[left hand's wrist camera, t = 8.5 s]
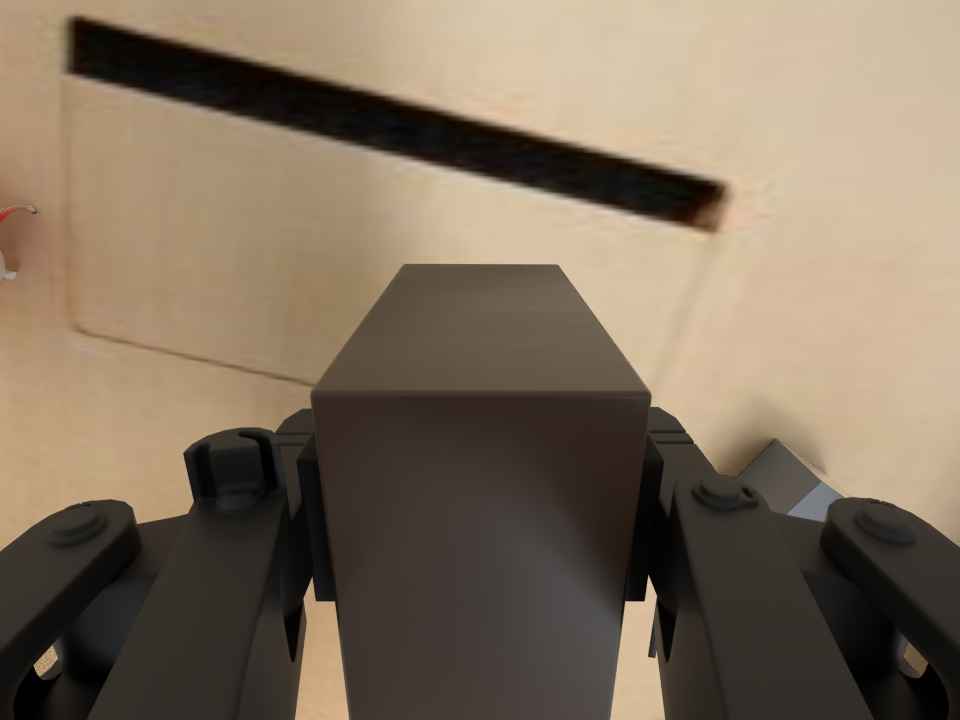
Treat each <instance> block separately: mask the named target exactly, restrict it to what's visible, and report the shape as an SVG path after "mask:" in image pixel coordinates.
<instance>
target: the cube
mask: <svg viewBox="0 0 960 720" xmlns="http://www.w3.org/2000/svg"><path fill="white" fill-rule="evenodd" d="M736 479H738V480H740V481H743V482H745V483H746V484H748V485H750V486H751V487H753V488H754V489H756V490H757V491H758V492H759V493H760V494H761V495H762V497H763V498H764V499H765V500H766V502H767V504H768V506H769V508H770V510H771V511H773V512H777V513H781V514H785V515H790V516H795V517H800V518H806V519H811V520H816V521H821V522H824V521H825V517H826V513H827V510H828V506H829V505H830V504H831V503H833V502H834V501H835V500H836V499H842V498H848V497H851V496H850V495H849V494H848V493H847V492H846V491H845V490H843V489H842V488H841V487H840V486H839V485H838V484H837V483H836V482H835V481H833V480H832V479H831V478H830V477H829V476H828V475H826V474H825V473H824V472H822V471H821V470H819V469H818V468H817V467H815V466H814V465H812V464H811V463H810V462H808V461H807V460H806V459H804V458H803V457H801V456H800V455H799V454H797V453H796V452H794V451H793V450H792V449H790V448H789V447H787V446H786V445H785V444H783V443H782V442H780V441H779V440H778V439H776V440H775V441H774V442H773V443H772V444H771V445H770V446H769V447H768V448H767V449H766V450H765V451H764V452H762V453H761V454H760V455H759V456H758V457H757V458H756V459H755V460H754V461H753V462H752V463H751V464H750V465H749V466H748V467H747V468H746V469H745V470H744V471H743V472H742V473H741V474H740V475H739V476H738V477H737V478H736Z"/></svg>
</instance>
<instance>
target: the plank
mask: <svg viewBox="0 0 960 720" xmlns="http://www.w3.org/2000/svg"><path fill="white" fill-rule="evenodd" d="M651 398H652V395H651V392H650V391H649V389H648V388H647V387H646V385H645V384H644V383H643V381H642V380H641V378H640V377H639V376H638V374H637V373H636V372H635V370H634V369H633V367H632V366H631V365H630V363H629V362H628V360H627V359H626V358H625V356H624V355H623V354H622V352H621V351H620V349H619V348H618V347H617V345H616V344H615V343H614V341H613V340H612V338H611V337H610V336H609V334H608V333H607V332H606V330H605V329H604V327H603V326H602V325H601V323H600V322H599V321H598V319H597V318H596V316H595V315H594V314H593V312H592V311H591V309H590V308H589V307H588V305H587V304H586V303H585V301H584V300H583V298H582V297H581V296H580V294H579V293H578V292H577V290H576V289H575V287H574V286H573V285H572V283H571V282H570V281H569V279H568V278H567V276H566V275H565V274H564V272H563V271H562V270H561V268H560V267H559V265H531V264H404V265H403V266H402V267H401V269H400V270H399V271H398V273H397V274H396V276H395V277H394V278H393V280H392V281H391V282H390V284H389V285H388V286H387V288H386V289H385V291H384V292H383V293H382V295H381V296H380V297H379V299H378V300H377V302H376V303H375V304H374V306H373V307H372V308H371V310H370V311H369V313H368V314H367V315H366V317H365V318H364V319H363V321H362V322H361V324H360V325H359V326H358V328H357V329H356V330H355V332H354V333H353V335H352V336H351V337H350V339H349V340H348V341H347V343H346V344H345V346H344V347H343V348H342V350H341V351H340V352H339V354H338V355H337V356H336V358H335V359H334V361H333V362H332V363H331V365H330V366H329V367H328V369H327V370H326V372H325V373H324V374H323V376H322V377H321V378H320V380H319V381H318V383H317V384H316V385H315V387H314V388H313V389H312V391H311V394H310V399H311V407H312V415H313V423H314V432H315V440H316V448H317V456H318V465H319V473H320V481H321V489H322V498H323V506H324V514H325V522H326V531H327V539H328V547H329V555H330V564H331V572H332V580H333V589H334V597H335V605H336V613H337V622H338V630H339V638H340V646H341V655H342V663H343V671H344V679H345V688H346V696H347V704H348V712H349V720H610V716H611V708H612V700H613V693H614V685H615V677H616V669H617V662H618V654H619V646H620V638H621V631H622V623H623V615H624V607H625V599H626V592H627V584H628V576H629V568H630V561H631V553H632V545H633V537H634V530H635V522H636V514H637V506H638V499H639V491H640V483H641V475H642V467H643V460H644V452H645V444H646V436H647V429H648V421H649V413H650V405H651Z"/></svg>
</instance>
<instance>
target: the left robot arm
mask: <svg viewBox="0 0 960 720" xmlns="http://www.w3.org/2000/svg"><path fill="white" fill-rule="evenodd" d="M183 455H184V459H185V464H186V468H187V472H188V477H189V481H190V486H191V490H192V495H193V499H194V503H193V505H192V507H191V509H190V511H189V513H188V514H185V515H181V516H177V517H173V518H167V519H162V520H157V521H152V522H147V523H141V524H137V522H136V519H135V515H134V511H133V508H132V507H131V506H129V505H128V504H127V503H126V502H123V501H117V500H111V499H110V500H98V501H88V502H82V504H80V503H78V504H75V505H72V506H69V507H67V508H65V509H64V510H61V511H59V512H57V513H54V514H52V515H50V516H48V517H47V518H45V519H43V520H42V521H40V522H39V523H37V524H35V525H34V526H32V527H31V528H30V529H28V530H27V531H26V532H25V533H23V534H22V535H21V536H19V537H18V538H17V539H16V540H14V541H13V542H12V543H11V544H9V545H8V546H7V547H5V548H4V549H3V550H2V551H0V720H295V714H296V705H297V697H298V689H299V681H300V672H301V664H302V656H303V648H304V639H305V631H306V623H307V621H306V614H305V607H304V600H303V598H304V596H305V593H306V591H307V588H308V586H309V583H310V581H311V578H312V577H313V584H314V591H315V598H316V601H335V597H334V589H333V580H332V572H331V564H330V555H329V547H328V539H327V531H326V522H325V514H324V506H323V498H322V489H321V481H320V473H319V465H318V456H317V448H316V440H315V432H314V423H313V415H312V409H301V410H300V411H298V412H297V413H295V414H293V415H292V416H290V417H288V418H287V419H285V420H284V421H283V423H282V424H281V425H280V427H279V428H278V429H277V431H276V432H275V433H274V432H272V431H271V430H267V429H262V428H236V429H230V430H224V431H221V432H218V433H215V434H212V435H209V436H206V437H204V438H203V439H201V440H199V441H197V442H195V443H193V444H192V445H191V446H190V447H189V448H188V449H187V450H186V451H185V452H184V453H183ZM648 575H649V577H650V579H651V582H652V584H653V587H654V589H655V592H656V594H657V600H656V607H655V614H654V620H653V627H652V633H651V640H650V647H649V654H648V657H652V658H655V656H656V651H657V655H658V663H659V671H660V679H661V688H662V696H663V704H664V712H665V720H960V547H958V546H957V545H956V544H954V543H953V542H952V541H951V540H949V539H948V538H947V537H945V536H944V535H943V534H942V533H940V532H939V531H938V530H936V529H935V528H934V527H933V526H931V525H930V524H929V523H927V522H925V521H924V520H922V519H921V518H919V517H917V516H916V515H914V514H913V513H911V512H908V511H906V510H903V509H901V508H899V507H897V506H895V505H894V504H891V503H888V502H884V501H882V502H880V501H879V500H876V499H871V498H856V497H848V498H842V499H836V500H835V501H834V502H833V503H831V504H830V505H829V506H828V510H827V513H826V517H825V521H824V522H821V521H816V520H811V519H806V518H800V517H795V516H790V515H785V514H781V513H777V512H773V511H771V510H770V508H769V506H768V504H767V502H766V500H765V499H764V498H763V497H762V495H761V494H760V493H759V492H758V491H757V490H756V489H754V488H753V487H751V486H750V485H748V484H746V483H745V482H743V481H740V480H738V479H735V478H733V477H730V476H727V475H722V474H718V473H717V472H716V470H715V469H714V468H713V466H712V465H711V464H710V462H709V461H708V460H707V458H706V457H705V456H704V454H703V453H702V452H701V450H700V449H699V448H698V446H697V445H696V444H694V441H693V440H692V438H691V437H690V436H689V434H688V433H686V431H685V429H684V428H683V427H682V425H681V424H680V423H679V421H678V420H677V419H676V418H675V417H674V416H672V415H670V414H669V413H667V412H665V411H664V410H662V409H661V408H659V407H650V413H649V421H648V429H647V436H646V444H645V452H644V460H643V467H642V475H641V483H640V491H639V499H638V506H637V514H636V522H635V530H634V537H633V545H632V553H631V561H630V568H629V576H628V584H627V592H626V599H625V601H645V594H646V587H647V580H648ZM909 642H910V643H911V644H912V645H913V646H914V647H915V649H916V650H917V651H918V652H919V653H920V654H921V655H922V656H923V657H924V658H925V659H926V660H927V661H928V665H927V667H926V670H925V672H924V673H923V675H921V674H919V673H918V672H917V671H916V670H915V669H914V668H913V667H912V666H911V665H910V664H909V663H908V662H907V661H906V660H905V659H904V657H903V656H904V653H905V651H906V648H907V646H908V643H909ZM52 645H53V647H54V649H55V652H56V654H57V657H58V660H57V661H56V662H55V663H54V664H53V666H52V667H51V668H50V669H49V670H48V671H47V672H45V673H44V674H43V675H42V676H40V677H39V676H38V675H37V673H36V671H35V668H34V666H33V665H34V664H35V663H36V662H37V661H38V660H39V659H40V658H41V656H42V655H43V654H44V653H45V652H46V651H47V650H48V649H49V648H50V647H51V646H52Z"/></svg>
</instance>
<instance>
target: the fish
mask: <svg viewBox="0 0 960 720" xmlns="http://www.w3.org/2000/svg"><path fill="white" fill-rule="evenodd" d="M18 209H25V210H27V211H29V212H30V213H32V214H33V213H37V212H36V210H35V209H34V207H33V206H32V205H15V206H9V207H6V208H2V209H0V223H1V222H3V221H4V220H5V219H6V218H7V217H8V216H9V215H10V214H11V213H12V212H14V211H16V210H18ZM16 275H17V272H14V271H9V270H5V259H4V254H3V251H2V250H1V248H0V282H1V280H2V278H3V277H4V278H6V279H10V280H13V279H14V278H15V277H16Z"/></svg>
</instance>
